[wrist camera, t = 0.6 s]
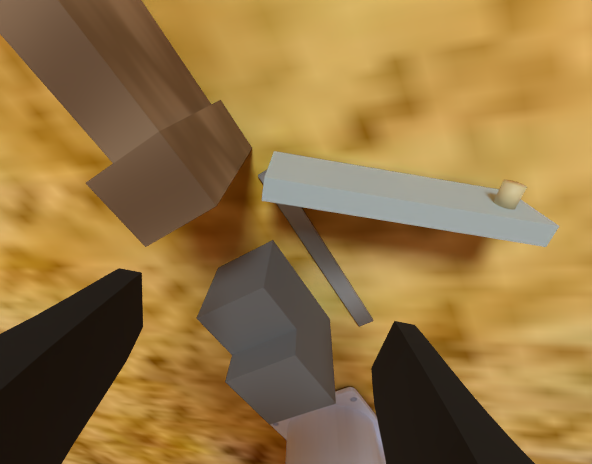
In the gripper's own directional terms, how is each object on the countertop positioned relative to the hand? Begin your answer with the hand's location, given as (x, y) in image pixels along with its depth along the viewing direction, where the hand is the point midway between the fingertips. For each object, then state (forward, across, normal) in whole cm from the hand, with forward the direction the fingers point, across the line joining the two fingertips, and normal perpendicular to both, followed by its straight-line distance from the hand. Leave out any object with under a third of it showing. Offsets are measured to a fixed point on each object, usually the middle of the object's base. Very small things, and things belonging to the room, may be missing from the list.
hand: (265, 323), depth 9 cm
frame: (+9, +1, +1) cm, 9 cm away
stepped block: (+9, -1, +7) cm, 11 cm away
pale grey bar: (+9, -5, -3) cm, 11 cm away
